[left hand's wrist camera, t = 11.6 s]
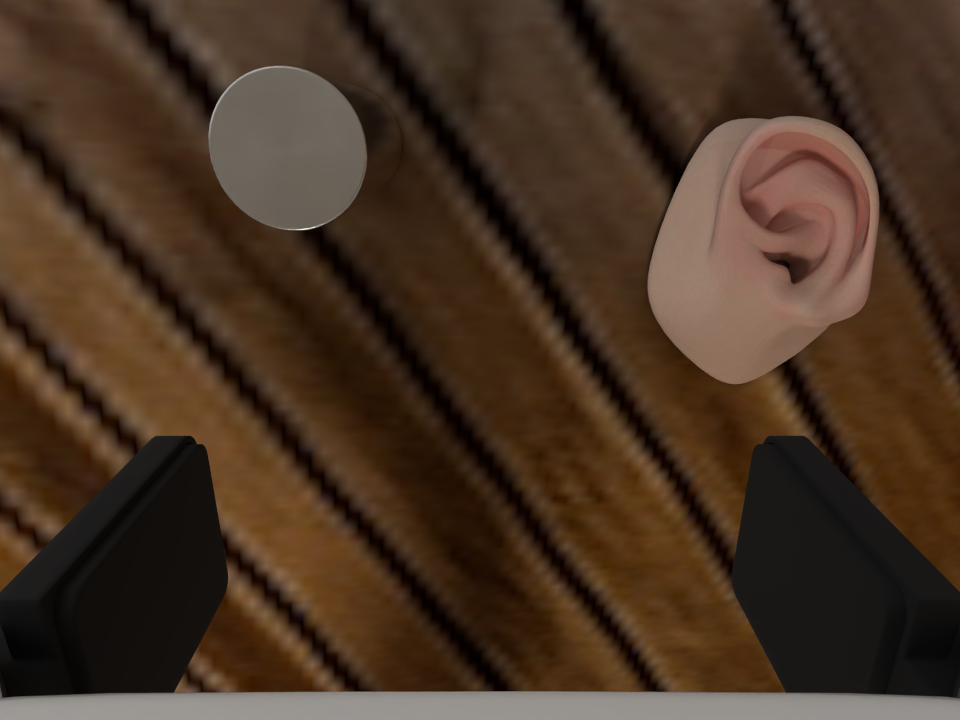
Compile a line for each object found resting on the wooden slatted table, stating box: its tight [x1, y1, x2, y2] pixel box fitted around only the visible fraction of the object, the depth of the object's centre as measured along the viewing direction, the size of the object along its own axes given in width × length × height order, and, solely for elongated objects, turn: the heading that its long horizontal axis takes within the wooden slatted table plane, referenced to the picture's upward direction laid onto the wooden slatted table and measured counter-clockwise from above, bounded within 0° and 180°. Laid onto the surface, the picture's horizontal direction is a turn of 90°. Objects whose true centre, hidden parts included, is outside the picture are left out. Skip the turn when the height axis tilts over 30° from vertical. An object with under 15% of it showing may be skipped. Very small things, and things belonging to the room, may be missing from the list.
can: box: [208, 65, 402, 231], centre depth 28 cm, size 5×5×11 cm
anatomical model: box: [648, 116, 879, 384], centre depth 33 cm, size 13×4×12 cm
